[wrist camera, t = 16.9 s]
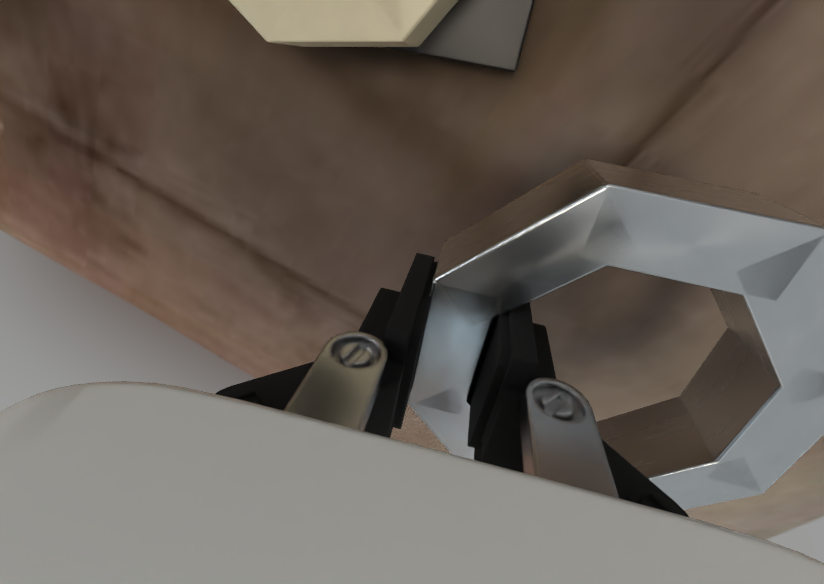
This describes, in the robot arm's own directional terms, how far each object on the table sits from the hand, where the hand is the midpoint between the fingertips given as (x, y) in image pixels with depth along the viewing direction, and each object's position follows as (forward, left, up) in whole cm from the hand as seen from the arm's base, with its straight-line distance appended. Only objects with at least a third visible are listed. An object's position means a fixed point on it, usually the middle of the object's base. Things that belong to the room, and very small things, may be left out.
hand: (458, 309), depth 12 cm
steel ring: (+4, 0, 0) cm, 4 cm away
